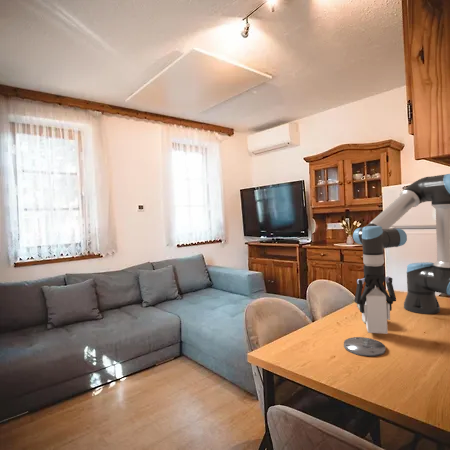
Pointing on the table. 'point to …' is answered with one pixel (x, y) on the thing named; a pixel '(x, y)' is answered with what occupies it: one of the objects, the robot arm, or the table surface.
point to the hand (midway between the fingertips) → (376, 319)
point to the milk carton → (376, 311)
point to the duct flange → (364, 346)
